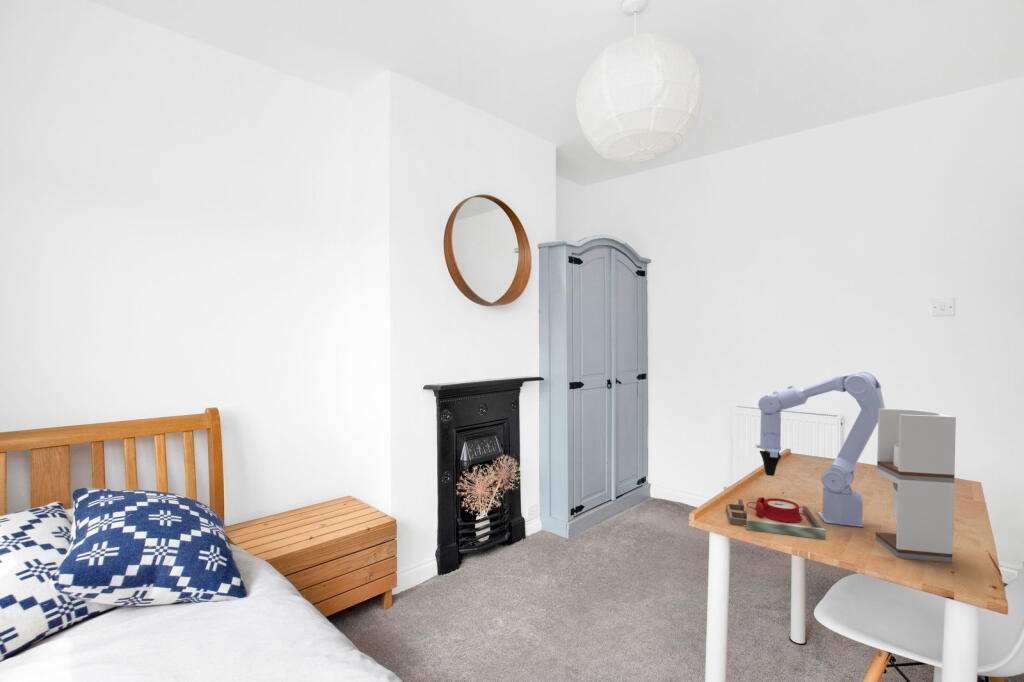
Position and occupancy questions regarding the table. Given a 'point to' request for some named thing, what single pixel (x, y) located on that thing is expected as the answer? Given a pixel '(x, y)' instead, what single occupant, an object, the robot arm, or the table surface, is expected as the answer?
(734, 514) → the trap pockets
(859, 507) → the robot arm
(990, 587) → the table surface
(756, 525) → the wall
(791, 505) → the alarm clock
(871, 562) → the table surface
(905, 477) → the display case
